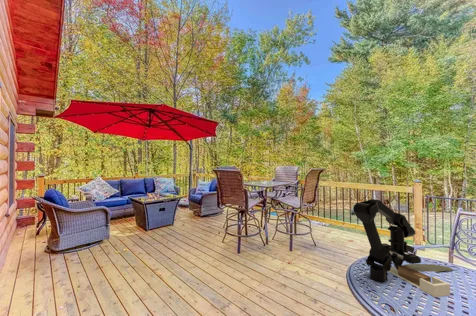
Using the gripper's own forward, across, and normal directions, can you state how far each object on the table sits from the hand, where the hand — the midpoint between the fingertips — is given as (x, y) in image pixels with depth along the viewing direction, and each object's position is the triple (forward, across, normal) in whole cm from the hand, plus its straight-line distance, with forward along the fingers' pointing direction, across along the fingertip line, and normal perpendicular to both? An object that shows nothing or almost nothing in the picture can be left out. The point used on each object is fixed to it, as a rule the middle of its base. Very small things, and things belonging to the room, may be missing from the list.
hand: (398, 269), depth 107 cm
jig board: (+2, -7, 0) cm, 7 cm away
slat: (+2, -8, 0) cm, 8 cm away
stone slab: (+3, +2, -22) cm, 23 cm away
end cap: (+1, -17, 0) cm, 17 cm away
